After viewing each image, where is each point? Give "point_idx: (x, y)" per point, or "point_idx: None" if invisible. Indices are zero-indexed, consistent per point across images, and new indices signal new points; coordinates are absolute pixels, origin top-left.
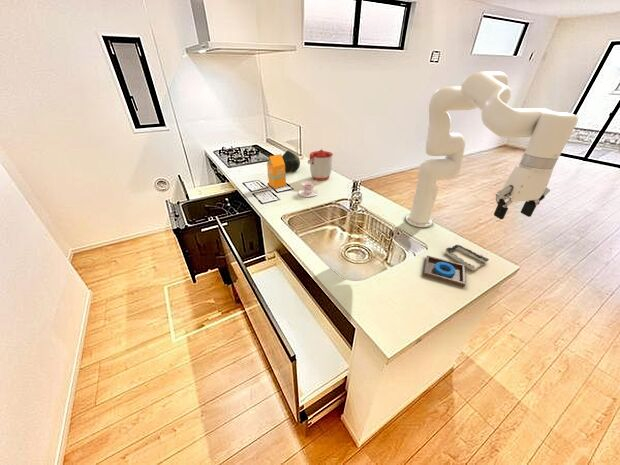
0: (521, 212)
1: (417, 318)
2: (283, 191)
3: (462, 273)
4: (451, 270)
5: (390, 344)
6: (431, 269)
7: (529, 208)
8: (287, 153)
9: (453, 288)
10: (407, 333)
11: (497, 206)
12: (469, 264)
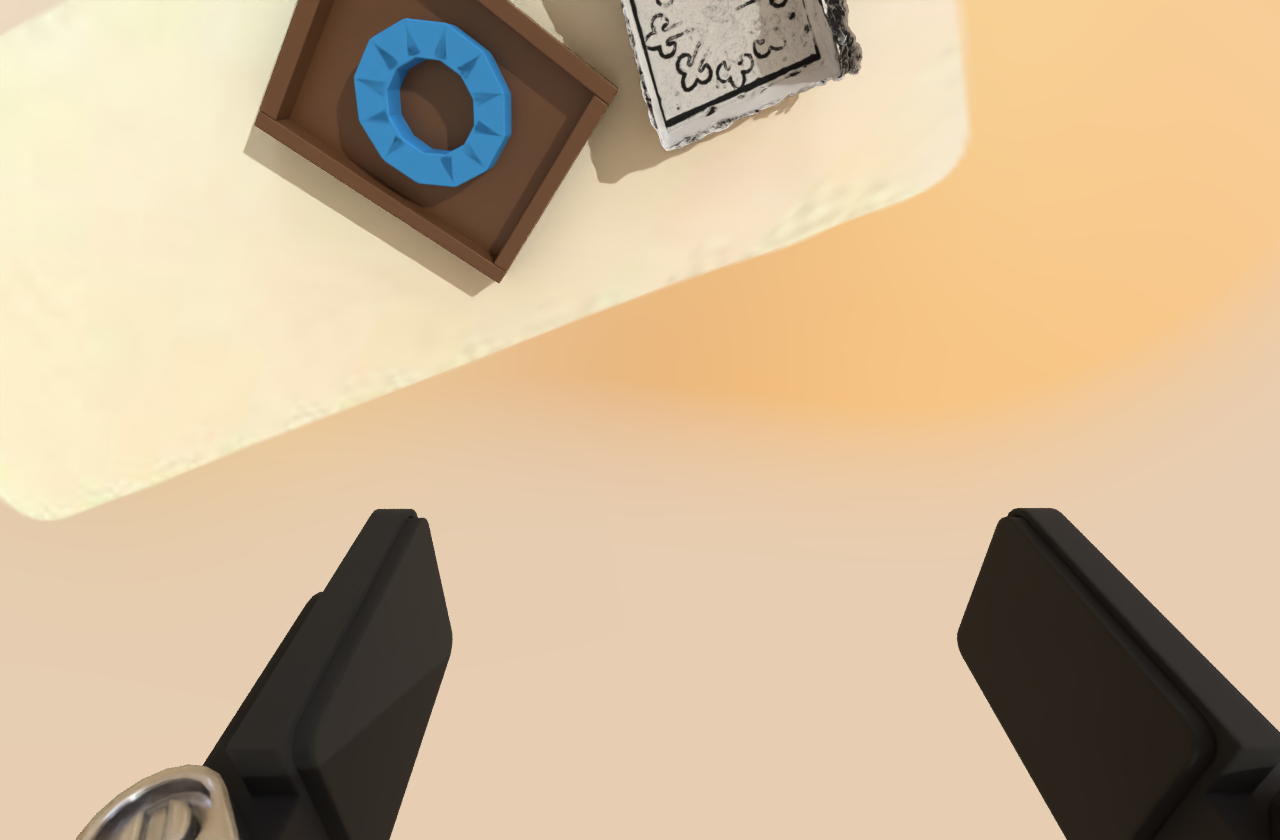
0: (998, 538)
1: (171, 415)
2: None
3: (541, 183)
4: (465, 148)
5: (38, 500)
6: (352, 63)
7: (1051, 744)
8: None
9: (440, 267)
10: (114, 471)
11: (280, 674)
12: (650, 102)
